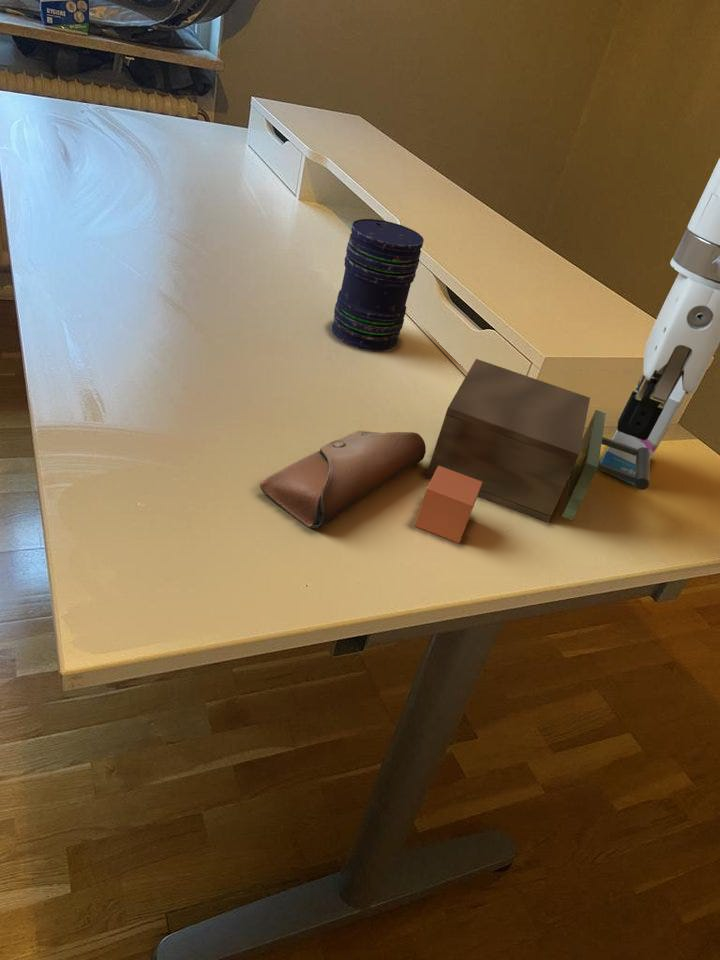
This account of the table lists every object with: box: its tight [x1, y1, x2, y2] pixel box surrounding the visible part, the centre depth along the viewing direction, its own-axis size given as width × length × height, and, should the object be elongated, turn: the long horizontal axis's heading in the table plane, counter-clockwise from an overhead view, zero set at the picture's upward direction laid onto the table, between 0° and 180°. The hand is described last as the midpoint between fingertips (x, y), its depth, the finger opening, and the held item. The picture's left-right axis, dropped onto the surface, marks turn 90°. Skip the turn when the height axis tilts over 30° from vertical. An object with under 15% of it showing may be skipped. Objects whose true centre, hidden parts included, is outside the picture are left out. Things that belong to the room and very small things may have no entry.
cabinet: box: [425, 358, 591, 523], centre depth 81 cm, size 14×14×9 cm
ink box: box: [600, 376, 687, 487], centre depth 87 cm, size 9×5×12 cm, turn 148°
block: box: [414, 466, 483, 544], centre depth 72 cm, size 5×5×5 cm
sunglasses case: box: [259, 430, 427, 529], centre depth 74 cm, size 18×7×7 cm, turn 144°
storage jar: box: [331, 218, 425, 352], centre depth 101 cm, size 10×10×15 cm
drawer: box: [561, 409, 651, 521], centre depth 80 cm, size 18×13×7 cm
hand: (631, 432), depth 76 cm, fingers closed
